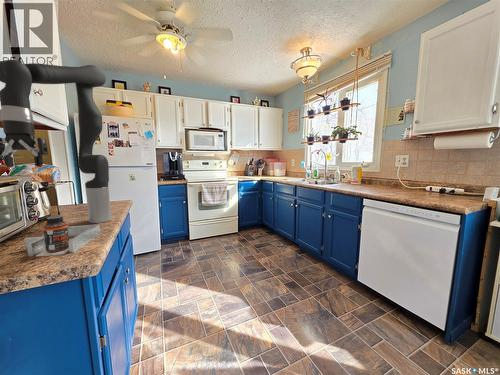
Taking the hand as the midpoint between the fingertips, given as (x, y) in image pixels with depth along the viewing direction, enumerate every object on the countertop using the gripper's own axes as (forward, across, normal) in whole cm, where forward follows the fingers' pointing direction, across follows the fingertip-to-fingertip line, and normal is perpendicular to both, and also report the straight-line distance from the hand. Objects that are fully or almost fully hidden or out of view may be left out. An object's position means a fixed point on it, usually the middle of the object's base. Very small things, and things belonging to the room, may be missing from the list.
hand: (24, 166), depth 75 cm
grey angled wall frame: (+28, -12, +7) cm, 31 cm away
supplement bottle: (+28, -15, +13) cm, 34 cm away
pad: (+28, -15, +13) cm, 34 cm away
